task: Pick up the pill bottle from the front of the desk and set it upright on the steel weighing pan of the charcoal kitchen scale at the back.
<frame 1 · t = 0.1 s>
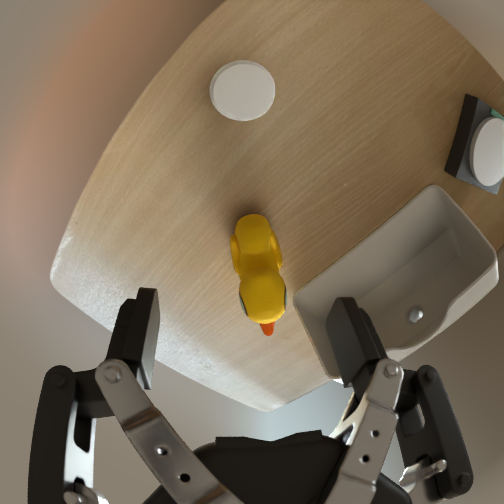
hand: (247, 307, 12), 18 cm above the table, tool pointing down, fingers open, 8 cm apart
tank: (387, 270, 38), on the table
duckling: (254, 243, 33), on the table
scale: (479, 144, 26), on the table
pill bottle: (238, 86, 23), on the table
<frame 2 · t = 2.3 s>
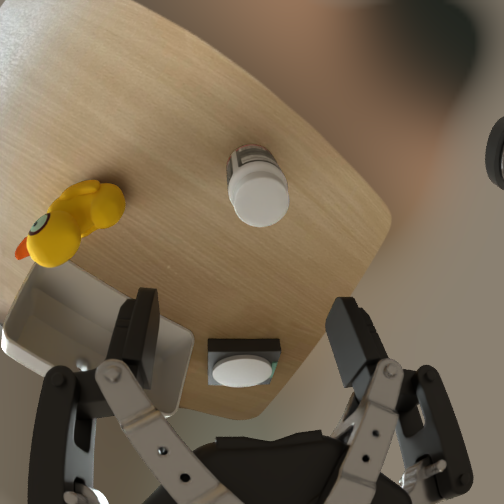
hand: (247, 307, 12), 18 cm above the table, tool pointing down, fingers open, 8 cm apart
tank: (101, 320, 38), on the table
duckling: (90, 198, 27), on the table
scale: (241, 358, 45), on the table
pill bottle: (250, 165, 27), on the table
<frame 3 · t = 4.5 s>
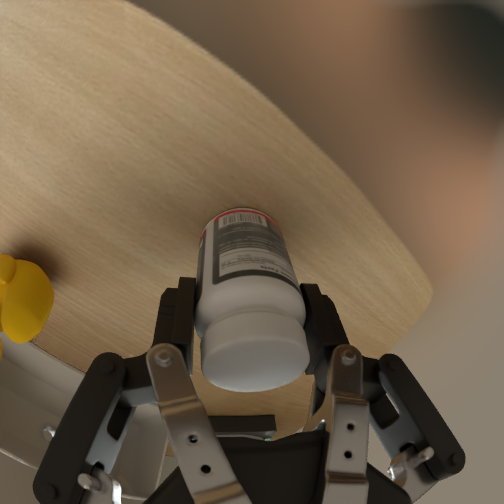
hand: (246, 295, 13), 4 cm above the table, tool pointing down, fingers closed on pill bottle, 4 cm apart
tank: (65, 388, 27), on the table
duckling: (19, 270, 16), on the table
scale: (229, 428, 35), on the table
pill bottle: (241, 240, 17), on the table, touching gripper
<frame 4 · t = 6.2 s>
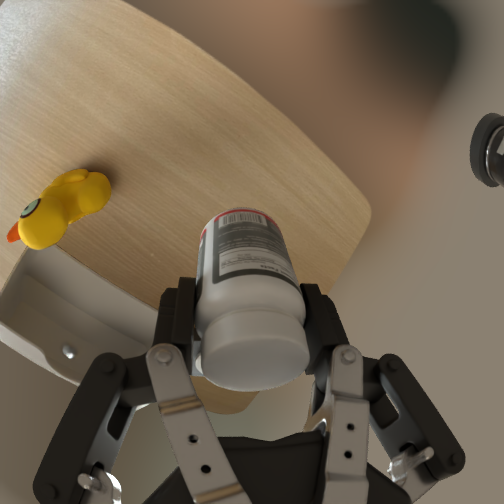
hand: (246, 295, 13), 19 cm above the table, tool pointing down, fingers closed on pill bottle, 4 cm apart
tank: (88, 307, 38), on the table
duckling: (79, 187, 27), on the table
scale: (223, 349, 46), on the table
pill bottle: (241, 239, 17), point 14 cm above the table, touching gripper
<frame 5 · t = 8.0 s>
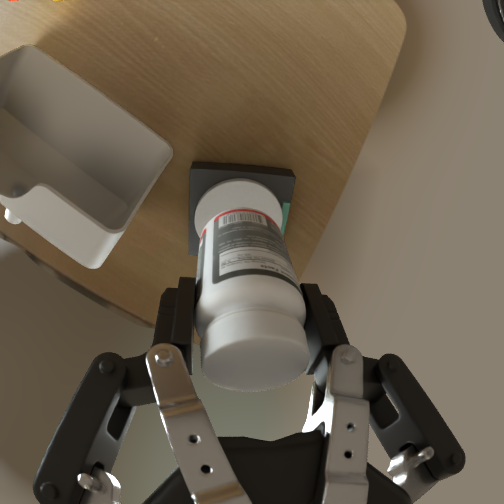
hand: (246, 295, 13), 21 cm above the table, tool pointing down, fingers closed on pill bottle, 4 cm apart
tank: (61, 142, 26), on the table
scale: (237, 208, 33), on the table
pill bottle: (241, 239, 17), point 16 cm above the table, touching gripper
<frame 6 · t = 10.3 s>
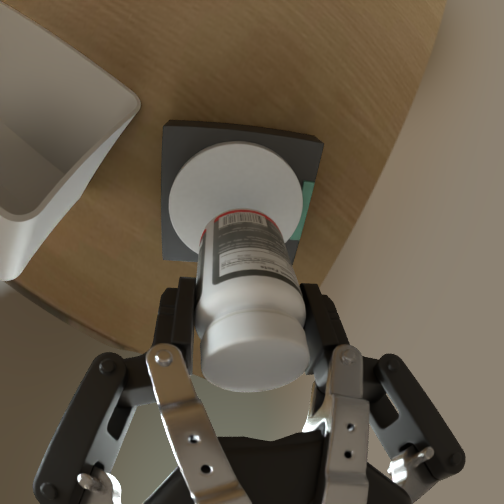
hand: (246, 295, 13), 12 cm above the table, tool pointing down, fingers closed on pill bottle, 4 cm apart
tank: (4, 107, 15), on the table
scale: (234, 191, 23), on the table
pill bottle: (241, 240, 17), point 7 cm above the table, touching gripper
when the fingers open (8 cm above the table, at t = 11.8 s): pill bottle stays where it is, resting on scale.
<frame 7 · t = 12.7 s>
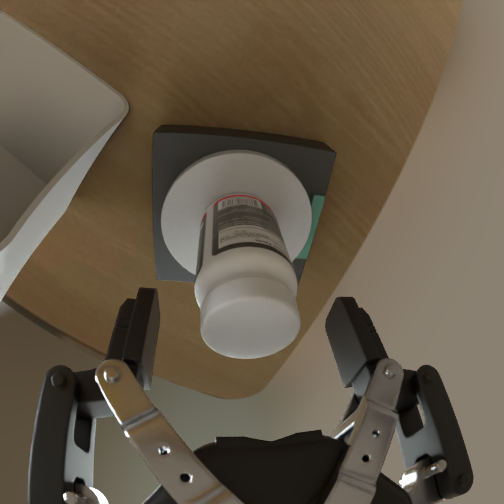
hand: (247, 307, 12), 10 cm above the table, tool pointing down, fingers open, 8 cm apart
scale: (234, 204, 20), on the table
pill bottle: (238, 224, 18), point 3 cm above the table, touching scale
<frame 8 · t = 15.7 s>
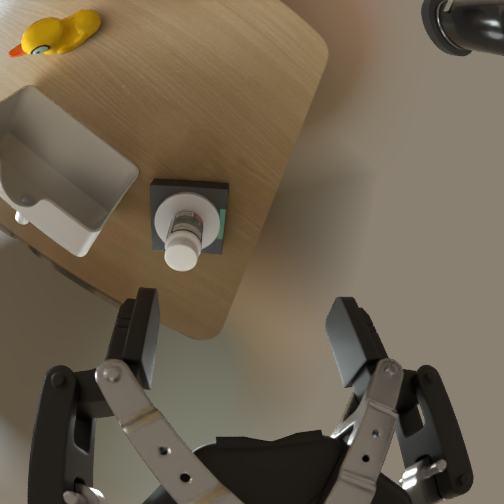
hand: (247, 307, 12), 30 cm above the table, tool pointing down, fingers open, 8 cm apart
tank: (58, 163, 35), on the table
duckling: (75, 35, 24), on the table
scale: (189, 213, 43), on the table
pill bottle: (187, 223, 40), point 3 cm above the table, touching scale
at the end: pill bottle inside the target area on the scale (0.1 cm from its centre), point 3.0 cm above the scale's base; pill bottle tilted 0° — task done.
